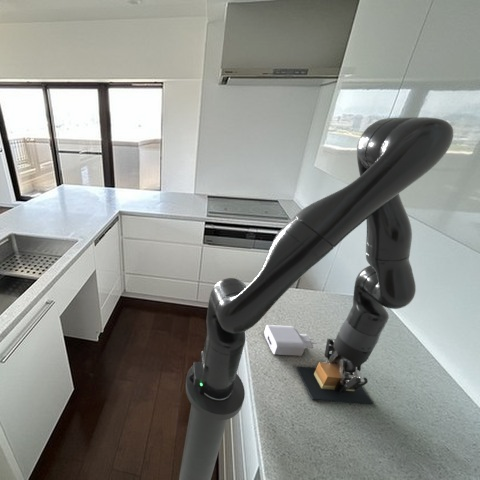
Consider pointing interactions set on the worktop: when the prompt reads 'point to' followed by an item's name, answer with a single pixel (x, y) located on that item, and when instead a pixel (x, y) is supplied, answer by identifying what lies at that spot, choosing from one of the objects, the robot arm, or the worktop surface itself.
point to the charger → (287, 340)
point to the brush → (328, 375)
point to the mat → (330, 390)
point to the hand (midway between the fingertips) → (333, 382)
